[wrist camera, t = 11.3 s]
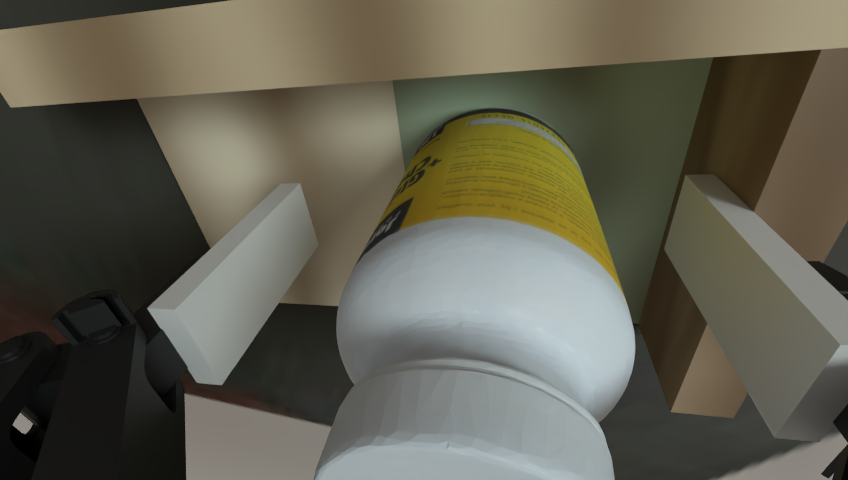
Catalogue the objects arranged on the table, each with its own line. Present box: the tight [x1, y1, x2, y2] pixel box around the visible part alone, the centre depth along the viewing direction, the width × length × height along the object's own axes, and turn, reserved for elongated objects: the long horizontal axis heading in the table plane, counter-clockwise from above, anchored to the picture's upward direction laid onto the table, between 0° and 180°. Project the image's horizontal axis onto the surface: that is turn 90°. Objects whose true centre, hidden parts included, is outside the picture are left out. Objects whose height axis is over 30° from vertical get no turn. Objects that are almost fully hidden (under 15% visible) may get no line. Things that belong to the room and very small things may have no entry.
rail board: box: [0, 0, 848, 418], centre depth 14 cm, size 23×14×5 cm, turn 96°
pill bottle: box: [314, 107, 635, 480], centre depth 11 cm, size 6×6×12 cm
